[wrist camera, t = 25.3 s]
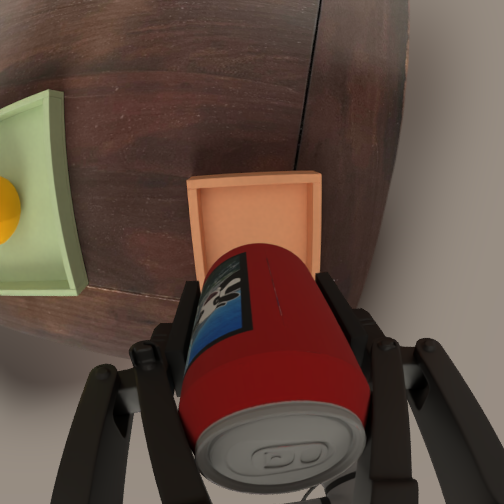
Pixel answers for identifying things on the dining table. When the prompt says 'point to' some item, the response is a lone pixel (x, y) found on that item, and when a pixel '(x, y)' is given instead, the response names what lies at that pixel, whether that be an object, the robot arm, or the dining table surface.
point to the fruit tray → (39, 201)
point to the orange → (8, 209)
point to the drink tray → (255, 215)
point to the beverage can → (270, 378)
